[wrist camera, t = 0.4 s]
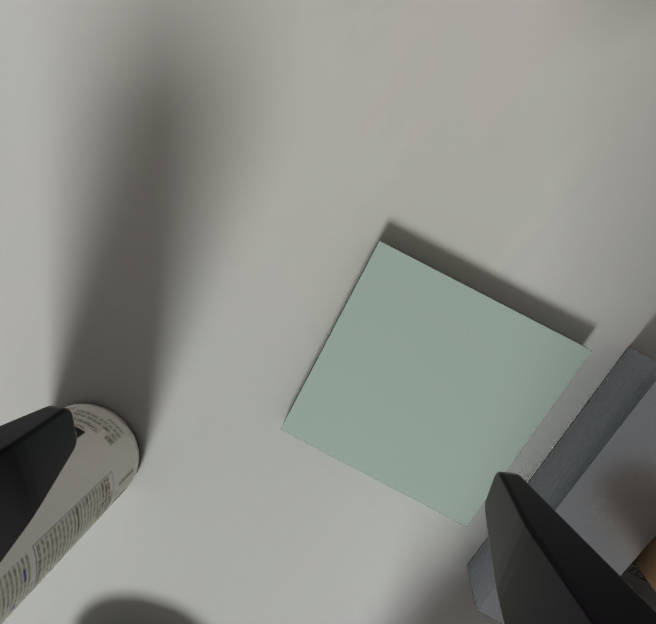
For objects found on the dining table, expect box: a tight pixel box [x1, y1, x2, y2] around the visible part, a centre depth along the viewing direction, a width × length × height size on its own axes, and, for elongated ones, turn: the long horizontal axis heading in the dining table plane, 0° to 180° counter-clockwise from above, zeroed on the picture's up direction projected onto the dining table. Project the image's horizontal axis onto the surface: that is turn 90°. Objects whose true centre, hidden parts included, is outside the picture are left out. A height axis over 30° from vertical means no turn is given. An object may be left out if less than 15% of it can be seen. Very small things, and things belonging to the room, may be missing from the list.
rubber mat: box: [281, 241, 592, 527], centre depth 23 cm, size 12×12×1 cm
